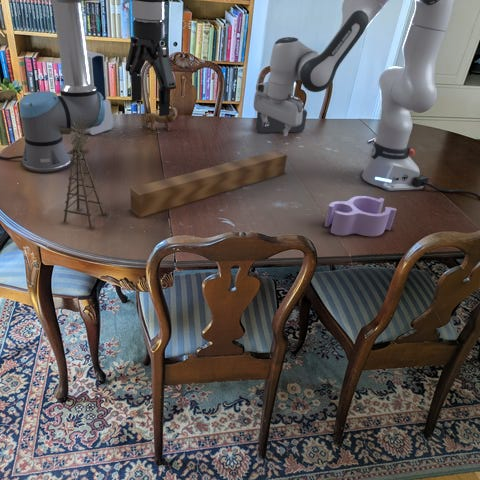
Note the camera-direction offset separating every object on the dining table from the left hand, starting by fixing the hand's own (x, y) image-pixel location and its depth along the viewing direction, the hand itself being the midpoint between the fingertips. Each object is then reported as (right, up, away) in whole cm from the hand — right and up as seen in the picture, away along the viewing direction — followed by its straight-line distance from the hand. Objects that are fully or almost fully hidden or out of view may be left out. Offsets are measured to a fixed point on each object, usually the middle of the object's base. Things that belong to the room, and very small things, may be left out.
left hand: (150, 107), depth 123 cm
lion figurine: (-10, +12, +74) cm, 76 cm away
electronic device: (-35, +10, +66) cm, 76 cm away
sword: (+92, +12, +91) cm, 131 cm away
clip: (+60, -31, +20) cm, 70 cm away
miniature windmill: (-20, -29, +9) cm, 37 cm away
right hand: (+36, +2, +37) cm, 52 cm away
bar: (+16, -18, +31) cm, 40 cm away
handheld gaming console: (+42, +13, +85) cm, 96 cm away
